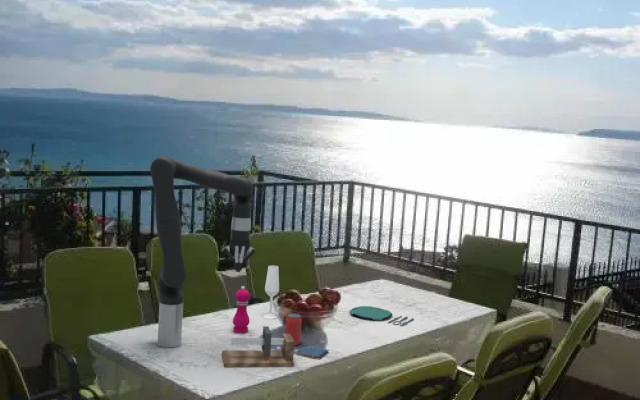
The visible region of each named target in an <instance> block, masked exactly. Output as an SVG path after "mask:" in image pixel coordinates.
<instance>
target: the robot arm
mask: <svg viewBox="0 0 640 400" xmlns="http://www.w3.org/2000/svg"><path fill="white" fill-rule="evenodd" d="M149 170H150V176H151V181H152V186H153V189H154V190H153V191H154V209H155V210H154V211H155V222H156V224H155V226H156V231H157V233H156V234H157V236H158V241H159V243H160V248H161V251H162V259H163V261H162V262H163V264H162V265H161V266H160V270H159V275H158V296H159V303H158V304H159V305H158V306H159V308H158V309H159V310H158V327H157V329H158V330H157V347H161V348H171V349H172V348H177V347H180V346H181V345H182V340H183V339H182V335H183V314H184V313H183V311H184V293H183V284H184V283H185V281H186V278H187V273H186V267H185V263H184V257H183V250H182V248H183V247H182V226H181V224H182V223H181V214H180V209H179V206H178V202H177V200H176V194H175V185H174V184H175V182H174V179H177V180H183V181H188V182H190V183H193V184H196V185H199V186H202V187H205V188H208V189H212V190H217V191H221V192H227V193H229V194H232V195H234V203H233V207H232V208H233V209H232V219H231V226H230V241H229V242H228V245H227V246H226V247H223V251H224V253H225V254H226V255H227V257H228V258H229V260H230V261H231V262H234V271H235V272H237V273H241V271H243V263H245V262H248V261H249V260H250V258H251V257H252V256H253V255H254V254H255V253H256V248H254V247H252V245H251V242H250V240H251V239H250V238H251V229H252V225H251V224H252V222H251V219H252V218H251V217H252V216H251V215H252V204H251V203H252V197H253V196H252V195H253V189H254V188H253V186H254V185H253V182H252V180H251V179H250V178H248V177H238V176H233V175H229V174H228V173H225V172H220V171H217V170H213V169H209V168H203V167H198V166H195V165H192V164H188V163H184V162H182V161H180V160H177V159H175V158H172V157H170V156H168V155H161V156H160V155H159V156H158V157H156V158H155V159H153V161H152V162H151V164H150V167H149ZM230 251H232V253H233V254H234V256H233V255H232V254H231V253H230ZM247 252H248V253H247ZM246 253H247V254H246ZM244 254H246V255H245V256H244Z"/></svg>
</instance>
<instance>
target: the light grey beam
mask: <svg viewBox="0 0 640 400" xmlns="http://www.w3.org/2000/svg"><path fill="white" fill-rule="evenodd" d="M264 343H265V338H263V337H232V338H231V345H233V346H239V345H240V346H248V345H249V346H250V345H251V346H259V345H260V346H262V345H264ZM273 345H274V346H276V345H280V346H282V345H285V339H284V338H282V337H271V346H273Z"/></svg>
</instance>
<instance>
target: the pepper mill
mask: <svg viewBox="0 0 640 400" xmlns="http://www.w3.org/2000/svg"><path fill="white" fill-rule="evenodd" d="M250 296H251V295H250V293H249V291H248V290H247V289H246V287H245V286H244V285H242V286H241V287H240V289H238V290H237V291H236V292H235V299H236V303H235V304H236V305H237V308H236V312H235V314H234V315H233V319H232V324H233V325H234V326H233V327H232V328H233V331H232V332H234V333H237V334H246V333H248V332H249V327H248V326H249V324H250V317H249V314H248V310H247V308H248V305H249V299H250Z"/></svg>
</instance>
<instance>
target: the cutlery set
mask: <svg viewBox="0 0 640 400" xmlns="http://www.w3.org/2000/svg"><path fill="white" fill-rule="evenodd" d="M349 314H350V315H354V316H355V317H359V318H362V319H368V320H373V321H381V320H386V319H390V317H392V316H393V313H392V312H391V311H390V310H388V309H383V308H380V307H376V306H370V305H368V306H367V305H364V306H363V305H361V306H357V307H353V308H352V309H350V311H349ZM400 318H401V319H400ZM398 319H400V320H398ZM407 319H408V316H405V317H403V318H402V315H400V316H397V317H395V318H393V319H391V320H389V321H387V323H388V324H390V323H392V324H393V325H398V326H400V327H405V326H407V325H408V324H409V323H412V321H414V319H415V318H414V317H412V318H411V319H409V320H408V321H404V320H407ZM403 321H404V322H403Z"/></svg>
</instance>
